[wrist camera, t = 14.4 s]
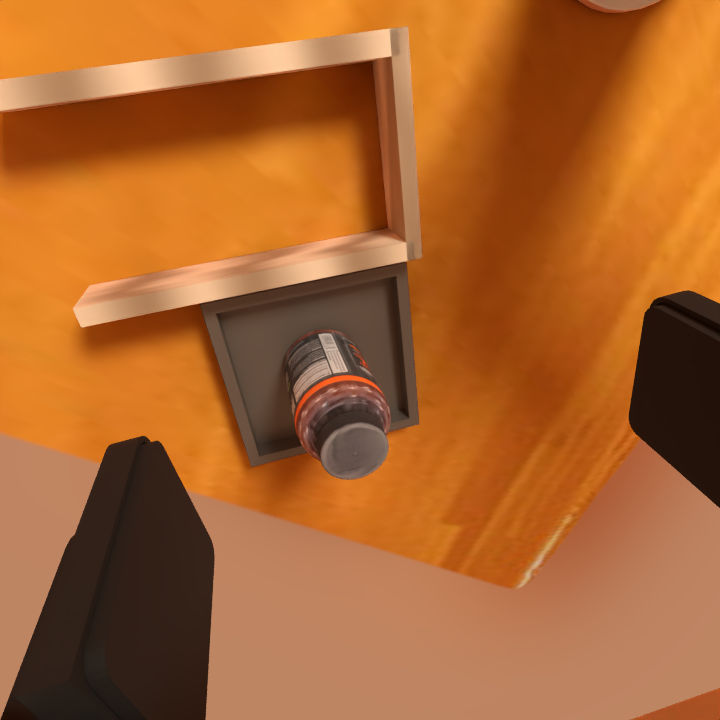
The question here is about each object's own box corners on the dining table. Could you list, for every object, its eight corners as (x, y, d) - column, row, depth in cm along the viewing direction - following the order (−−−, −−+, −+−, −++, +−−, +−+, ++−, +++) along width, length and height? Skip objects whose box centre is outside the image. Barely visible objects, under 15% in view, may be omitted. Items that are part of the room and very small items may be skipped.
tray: (397, 254, 35) (406, 262, 33) (411, 409, 42) (419, 423, 40) (201, 293, 33) (199, 305, 31) (250, 450, 40) (251, 467, 38)
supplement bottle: (371, 371, 38) (420, 464, 29) (305, 406, 38) (332, 511, 29) (339, 311, 35) (382, 392, 26) (267, 349, 35) (283, 445, 26)
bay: (386, 35, 28) (407, 26, 25) (403, 241, 34) (422, 257, 31) (3, 85, 25) (-33, 83, 22) (97, 302, 31) (81, 327, 28)
